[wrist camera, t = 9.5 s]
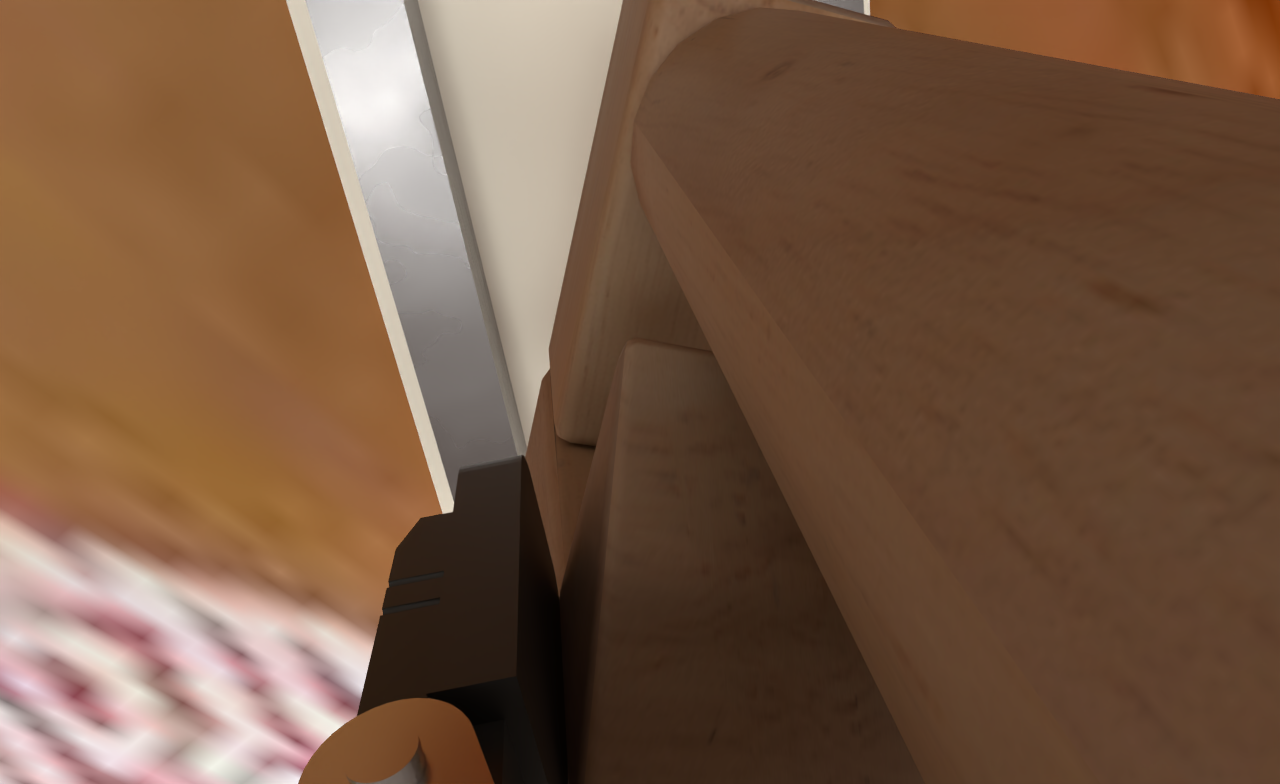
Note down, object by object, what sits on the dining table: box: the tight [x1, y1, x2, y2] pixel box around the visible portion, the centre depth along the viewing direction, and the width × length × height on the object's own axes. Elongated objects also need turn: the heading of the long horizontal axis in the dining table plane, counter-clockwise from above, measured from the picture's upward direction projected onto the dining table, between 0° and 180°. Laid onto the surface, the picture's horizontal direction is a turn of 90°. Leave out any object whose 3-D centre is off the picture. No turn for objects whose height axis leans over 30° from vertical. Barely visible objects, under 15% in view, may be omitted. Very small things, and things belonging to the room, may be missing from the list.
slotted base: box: [286, 0, 870, 514], centre depth 23 cm, size 14×19×4 cm
